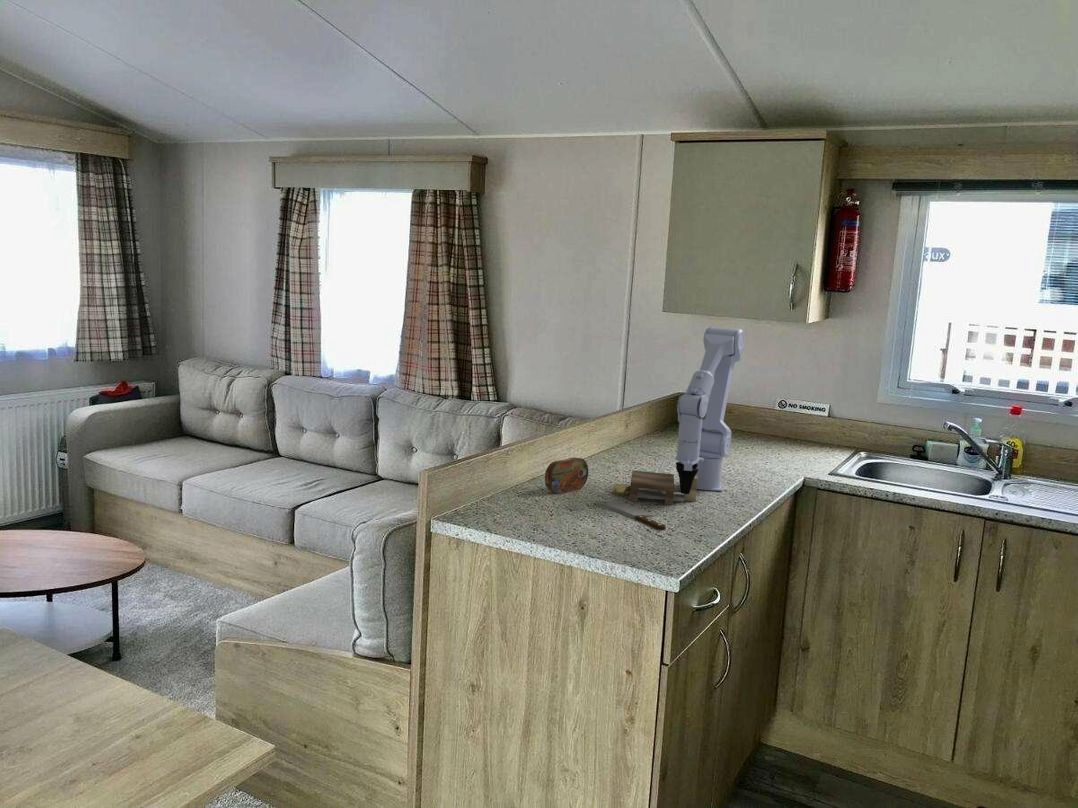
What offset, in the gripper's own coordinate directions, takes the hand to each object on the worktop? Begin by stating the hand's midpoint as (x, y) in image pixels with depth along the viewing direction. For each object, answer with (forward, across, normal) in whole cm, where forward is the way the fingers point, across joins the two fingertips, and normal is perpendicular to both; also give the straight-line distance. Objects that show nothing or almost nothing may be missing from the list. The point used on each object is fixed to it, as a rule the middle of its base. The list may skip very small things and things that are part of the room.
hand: (684, 491), depth 232 cm
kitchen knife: (+2, -19, +12) cm, 23 cm away
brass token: (+2, 0, +16) cm, 16 cm away
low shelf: (+2, 0, +8) cm, 9 cm away
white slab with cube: (+2, 0, +5) cm, 6 cm away
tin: (+2, -2, +31) cm, 31 cm away
